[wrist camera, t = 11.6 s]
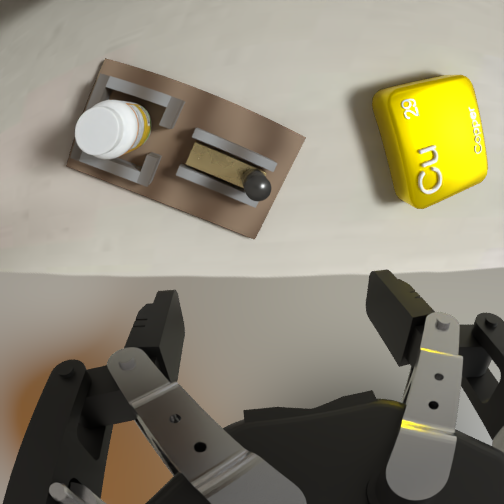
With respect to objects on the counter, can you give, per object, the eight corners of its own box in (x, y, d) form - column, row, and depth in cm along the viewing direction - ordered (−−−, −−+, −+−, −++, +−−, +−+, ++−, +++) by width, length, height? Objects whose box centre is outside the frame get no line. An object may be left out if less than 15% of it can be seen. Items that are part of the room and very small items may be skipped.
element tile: (471, 171, 37) (492, 179, 32) (396, 204, 38) (415, 216, 33) (450, 73, 30) (473, 73, 26) (365, 93, 31) (385, 91, 27)
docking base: (69, 164, 31) (56, 170, 28) (107, 59, 26) (97, 54, 23) (254, 236, 37) (257, 248, 34) (303, 137, 33) (312, 139, 30)
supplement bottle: (99, 142, 30) (58, 153, 21) (116, 96, 28) (80, 90, 19) (141, 157, 31) (113, 173, 22) (160, 111, 29) (137, 109, 20)
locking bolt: (187, 161, 32) (180, 170, 26) (195, 141, 31) (191, 145, 26) (256, 191, 34) (264, 205, 29) (266, 171, 33) (276, 182, 28)
